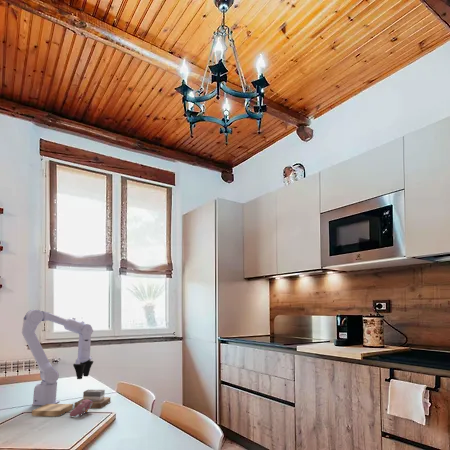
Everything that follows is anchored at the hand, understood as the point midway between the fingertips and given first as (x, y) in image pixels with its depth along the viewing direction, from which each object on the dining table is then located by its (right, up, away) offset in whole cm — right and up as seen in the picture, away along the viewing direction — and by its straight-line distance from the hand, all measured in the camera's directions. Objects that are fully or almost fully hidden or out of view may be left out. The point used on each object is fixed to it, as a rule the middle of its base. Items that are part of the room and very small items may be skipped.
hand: (82, 377), depth 203 cm
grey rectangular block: (+9, -5, -13) cm, 17 cm away
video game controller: (+10, -4, -30) cm, 32 cm away
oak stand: (-4, -5, -26) cm, 27 cm away
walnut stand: (+9, -7, -13) cm, 18 cm away
